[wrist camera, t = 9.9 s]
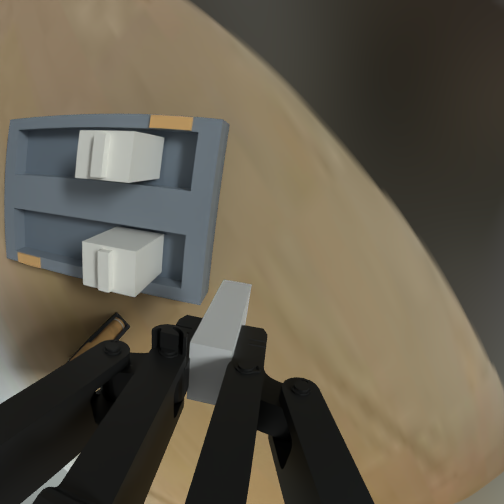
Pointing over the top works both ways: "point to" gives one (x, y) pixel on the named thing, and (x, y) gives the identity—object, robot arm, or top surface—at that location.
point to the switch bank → (115, 196)
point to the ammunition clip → (105, 333)
